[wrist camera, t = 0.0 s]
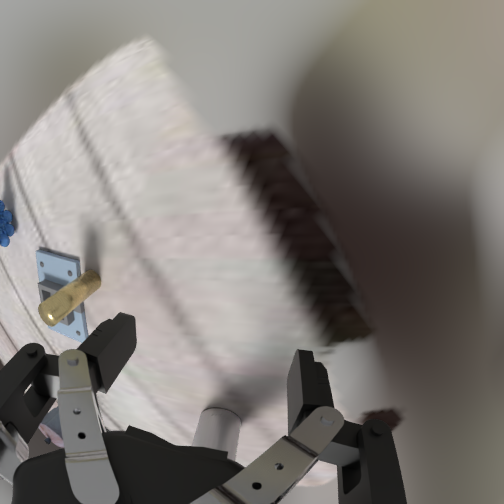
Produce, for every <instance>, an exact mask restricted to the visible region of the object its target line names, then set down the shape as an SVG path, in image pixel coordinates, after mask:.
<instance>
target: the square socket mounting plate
mask: <svg viewBox="0 0 504 504" xmlns="http://www.w3.org/2000/svg"><path fill="white" fill-rule="evenodd" d="M36 259H37V268H38V276H39V283H38V288H39V294H40V299H41V303H42V302H43V301H45V300H46V299H48V298H49V297H50V296H52V295H53V294H54V293H56V292H57V291H59V290H60V289H61V288H63V287H64V286H66V285H67V284H69V283H70V282H71V281H73V280H74V279H76V278H77V277H79V276H80V261H78V260H74V259H71V258H67V257H63V256H60V255H57V254H53V253H50V252H46V251H43V250H40V249H39V250H37V251H36ZM48 328H49V329H52V330H54V331H56V332H58V333H60V334H63V335H65V336H67V337H69V338H72V339H74V340H77V341H79V342H81V343H83V342H84V341H85V339H86V338H87V337H88V332H87V325H86V319H85V312H84V304H83V302H82V303H81V304H79V305H78V306H77V307H76V308H75V309H74V310H72V311H71V312H70V313H69V314H68V315H67V316H65V317H64V318H63V319H62V320H61V321H60V322H58V323H57V324H56V325H55V326H54V327H51V326H48Z"/></svg>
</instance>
